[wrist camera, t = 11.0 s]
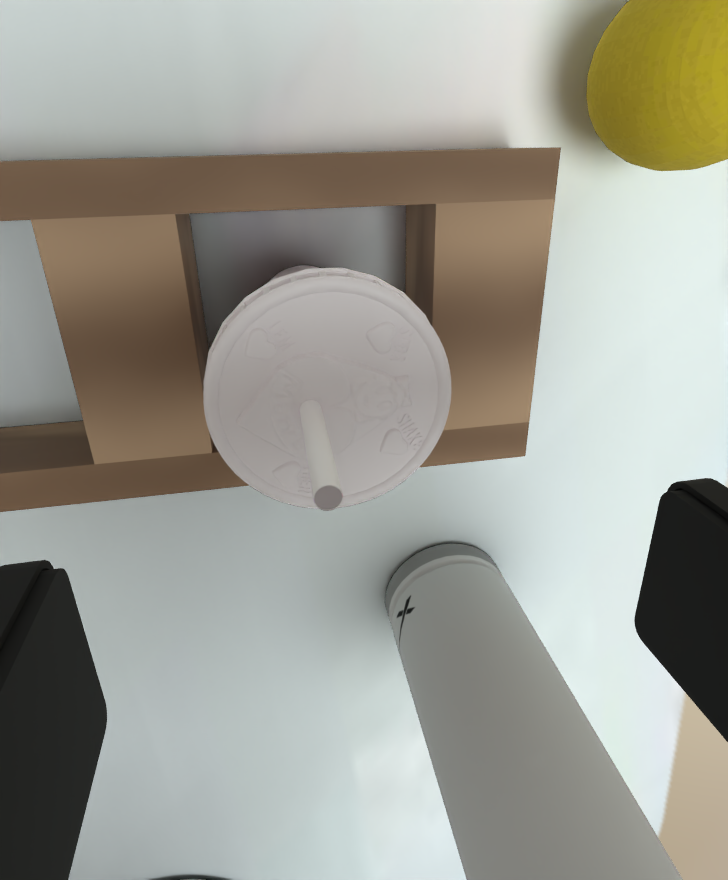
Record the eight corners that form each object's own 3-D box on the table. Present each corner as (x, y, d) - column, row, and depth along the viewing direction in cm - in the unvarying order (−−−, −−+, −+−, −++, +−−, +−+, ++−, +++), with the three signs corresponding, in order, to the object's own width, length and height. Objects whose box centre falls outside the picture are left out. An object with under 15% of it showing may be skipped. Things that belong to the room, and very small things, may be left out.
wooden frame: (488, 415, 27) (525, 456, 23) (-197, 480, 23) (-279, 541, 19) (510, 148, 22) (560, 147, 18) (-359, 170, 18) (-510, 174, 14)
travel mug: (357, 583, 30) (513, 1210, 12) (471, 520, 29) (805, 1080, 12) (410, 654, 33) (597, 1243, 15) (514, 598, 32) (834, 1140, 15)
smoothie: (204, 242, 22) (129, 358, 9) (374, 215, 22) (522, 291, 10) (243, 401, 24) (226, 653, 12) (392, 373, 25) (524, 588, 13)
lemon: (712, 87, 22) (927, 57, 15) (598, 199, 23) (749, 220, 16) (640, -50, 20) (855, -159, 13) (517, 82, 21) (653, 49, 14)
